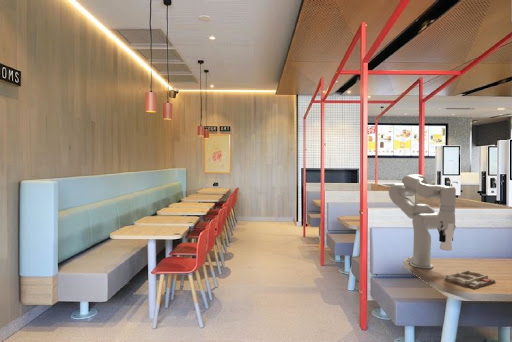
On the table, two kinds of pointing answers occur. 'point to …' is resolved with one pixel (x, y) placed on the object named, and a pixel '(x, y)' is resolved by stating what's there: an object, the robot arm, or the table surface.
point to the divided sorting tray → (469, 279)
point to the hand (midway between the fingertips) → (446, 240)
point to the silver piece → (447, 237)
